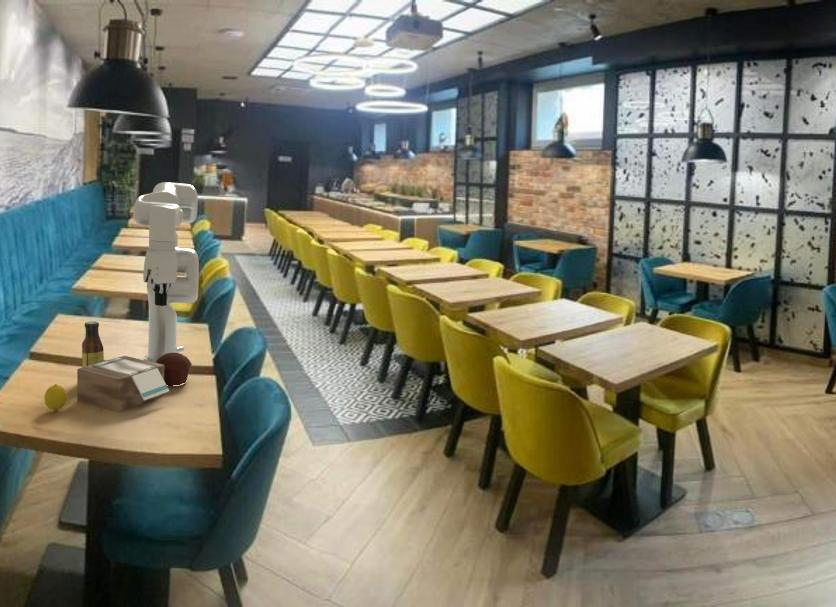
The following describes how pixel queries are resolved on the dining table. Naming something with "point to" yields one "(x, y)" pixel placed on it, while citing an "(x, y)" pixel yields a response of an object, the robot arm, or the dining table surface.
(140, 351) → the dining table surface
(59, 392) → the lemon
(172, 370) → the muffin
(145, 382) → the stub
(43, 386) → the dining table surface
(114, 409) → the brown box with strip
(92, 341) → the sauce bottle
